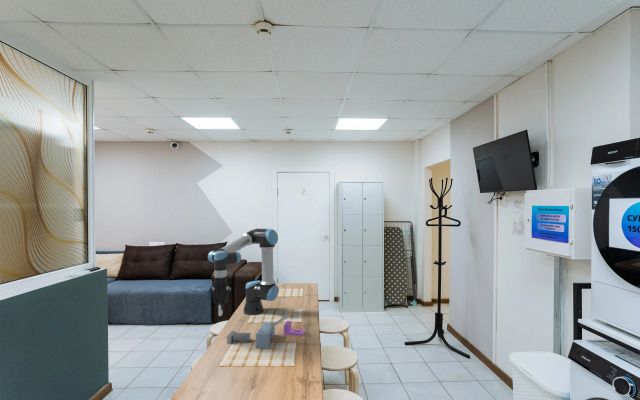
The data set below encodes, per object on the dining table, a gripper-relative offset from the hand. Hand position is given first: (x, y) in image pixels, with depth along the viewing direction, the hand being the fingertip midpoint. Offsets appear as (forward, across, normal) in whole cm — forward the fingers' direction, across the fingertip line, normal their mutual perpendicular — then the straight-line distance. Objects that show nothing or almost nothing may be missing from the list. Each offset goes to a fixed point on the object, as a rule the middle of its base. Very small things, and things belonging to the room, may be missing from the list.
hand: (220, 315), depth 184 cm
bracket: (+16, +44, +12) cm, 48 cm away
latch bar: (+3, +39, 0) cm, 39 cm away
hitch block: (+15, +28, 0) cm, 32 cm away
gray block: (+15, +12, 0) cm, 19 cm away
